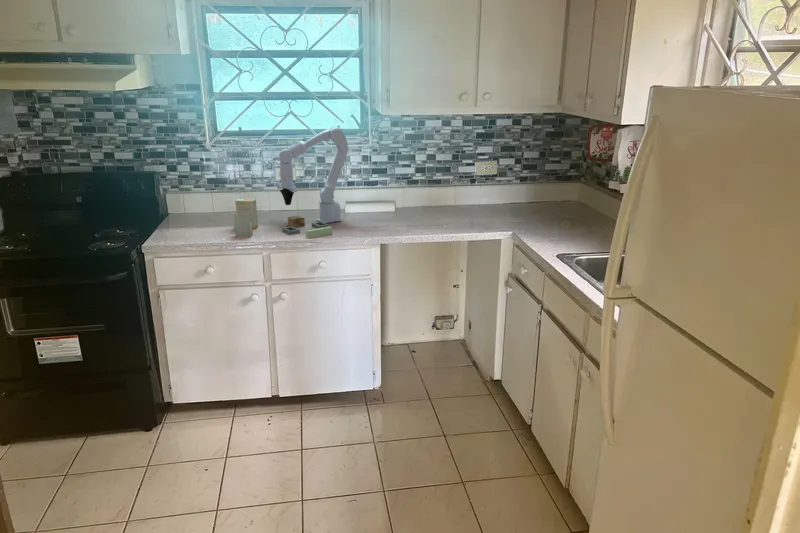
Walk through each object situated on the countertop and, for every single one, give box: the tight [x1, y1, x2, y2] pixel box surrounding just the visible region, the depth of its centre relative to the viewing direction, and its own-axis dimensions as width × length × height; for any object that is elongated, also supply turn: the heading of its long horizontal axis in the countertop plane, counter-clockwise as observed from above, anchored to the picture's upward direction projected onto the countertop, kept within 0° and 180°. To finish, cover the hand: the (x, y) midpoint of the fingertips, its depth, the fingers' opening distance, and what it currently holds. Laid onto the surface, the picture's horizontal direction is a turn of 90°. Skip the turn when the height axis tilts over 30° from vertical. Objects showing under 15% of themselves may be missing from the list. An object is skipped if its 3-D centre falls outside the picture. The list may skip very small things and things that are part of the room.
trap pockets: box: [281, 221, 333, 239], centre depth 269 cm, size 20×16×3 cm
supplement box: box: [234, 197, 259, 230], centre depth 273 cm, size 8×5×13 cm, turn 74°
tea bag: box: [233, 213, 253, 238], centre depth 260 cm, size 4×7×10 cm, turn 93°
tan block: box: [287, 215, 306, 228], centre depth 279 cm, size 6×5×4 cm
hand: (288, 204), depth 283 cm, fingers closed
